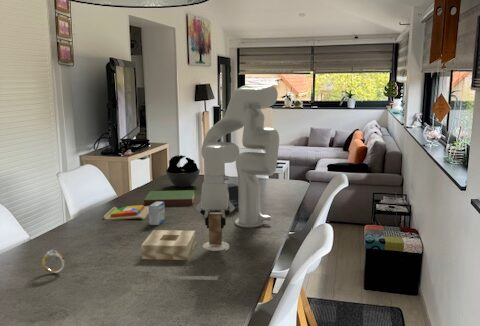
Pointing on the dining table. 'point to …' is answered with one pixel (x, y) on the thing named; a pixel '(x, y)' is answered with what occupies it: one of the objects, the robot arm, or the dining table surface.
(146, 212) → the wooden puzzle
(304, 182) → the dining table surface
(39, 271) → the dining table surface
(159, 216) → the medicine box
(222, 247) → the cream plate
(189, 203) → the hardcover book
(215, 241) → the walnut peg
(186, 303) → the dining table surface
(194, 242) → the birch pocket block
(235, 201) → the small box
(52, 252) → the bracelet
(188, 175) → the bowl of black rocks
